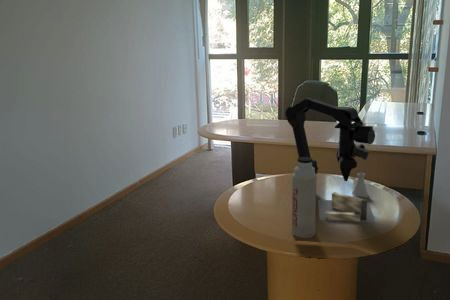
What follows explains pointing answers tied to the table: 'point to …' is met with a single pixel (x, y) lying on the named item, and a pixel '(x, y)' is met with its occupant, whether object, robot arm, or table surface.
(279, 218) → the table surface
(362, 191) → the flask
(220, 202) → the table surface
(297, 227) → the thermos bottle
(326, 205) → the slate board
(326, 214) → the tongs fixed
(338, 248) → the table surface
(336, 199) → the beige flat block
